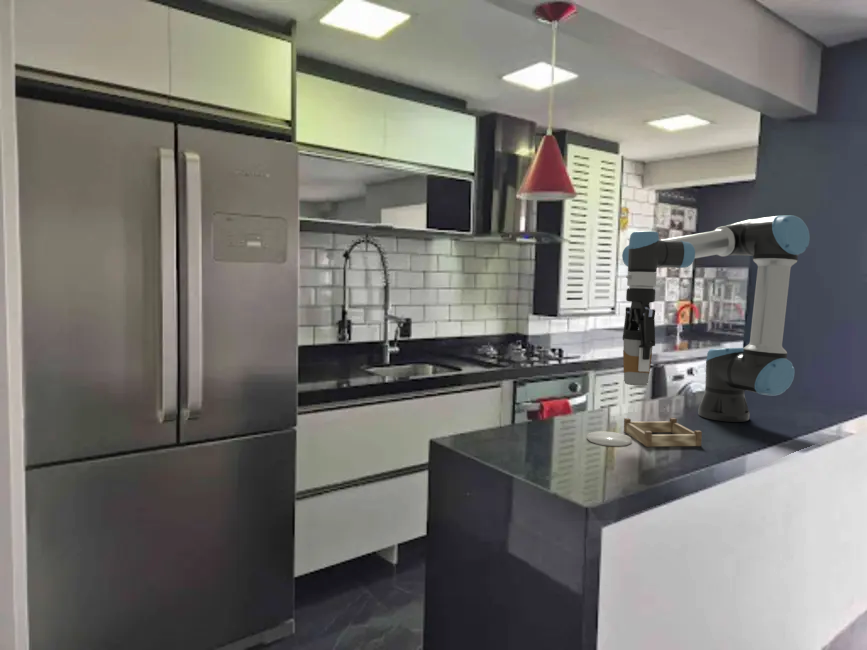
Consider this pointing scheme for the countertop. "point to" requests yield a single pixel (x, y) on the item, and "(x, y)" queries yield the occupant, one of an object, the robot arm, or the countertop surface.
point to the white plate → (609, 438)
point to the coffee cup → (633, 359)
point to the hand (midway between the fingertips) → (636, 368)
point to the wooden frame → (679, 438)
